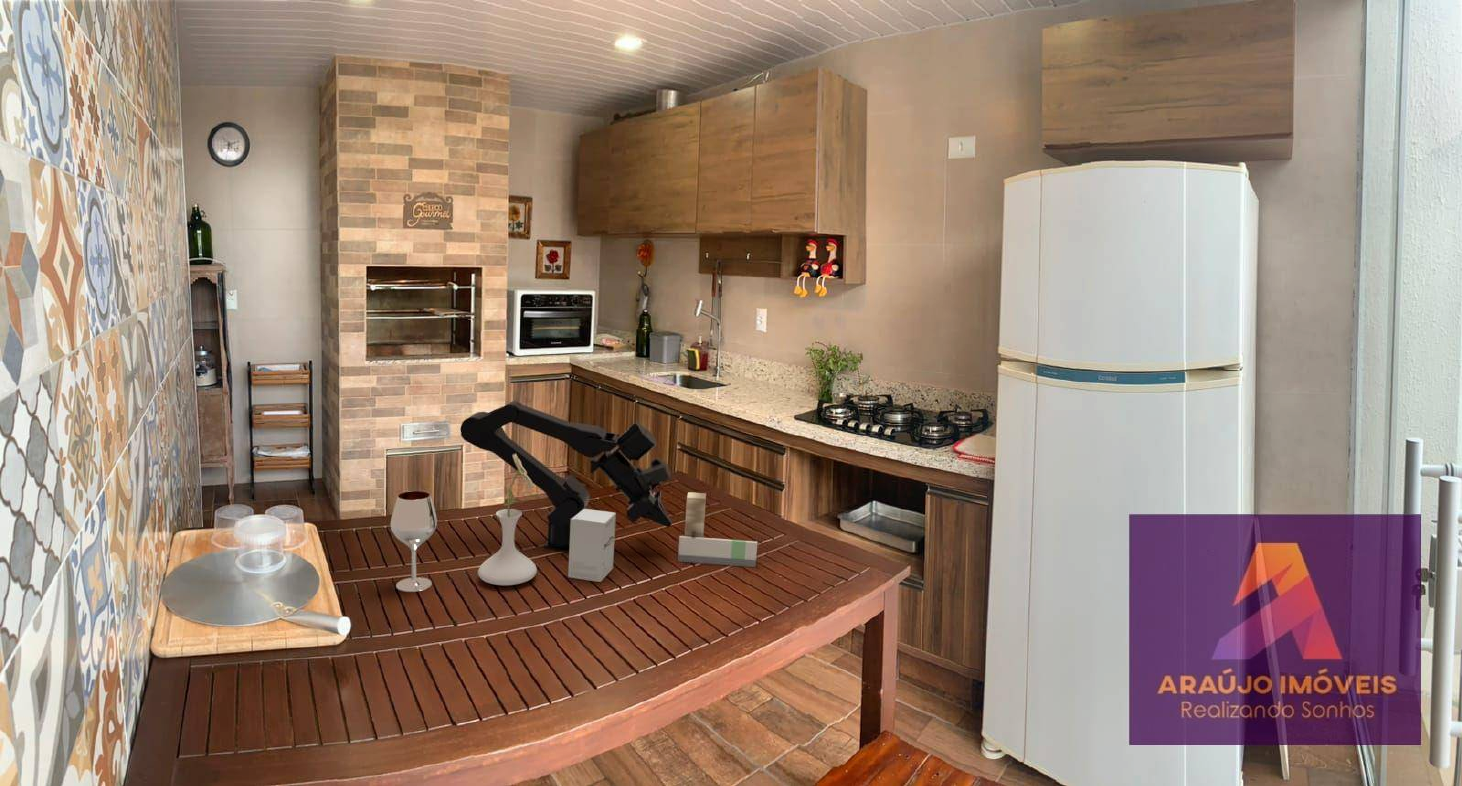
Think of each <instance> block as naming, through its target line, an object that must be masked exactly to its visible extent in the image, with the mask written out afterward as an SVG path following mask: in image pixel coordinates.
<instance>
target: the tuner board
mask: <svg viewBox="0 0 1462 786" xmlns="http://www.w3.org/2000/svg"><path fill="white" fill-rule="evenodd" d="M757 552H758V541H753V540H739V539H729V538H728V539H726V538H713V537H711V538H709V537H703V538H701V537H688V536H685V535H679V539H678V553H677V554H678V555H677V562H683V563H695V564H707V565H720V566H735V567H748V568H756V564H757Z"/></svg>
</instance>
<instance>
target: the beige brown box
mask: <svg viewBox="0 0 1462 786" xmlns="http://www.w3.org/2000/svg"><path fill="white" fill-rule="evenodd" d="M706 499H707V493H706V492H704V493H703V492H694V491H693V492H692V491H691V492H689V491H688V493H687V497H686V508H685V522H684V523H685V525H684V536H688V537H701V538H704V534H705V533H704V529H705V516H706V504H707V503H706V502H707V500H706Z"/></svg>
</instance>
